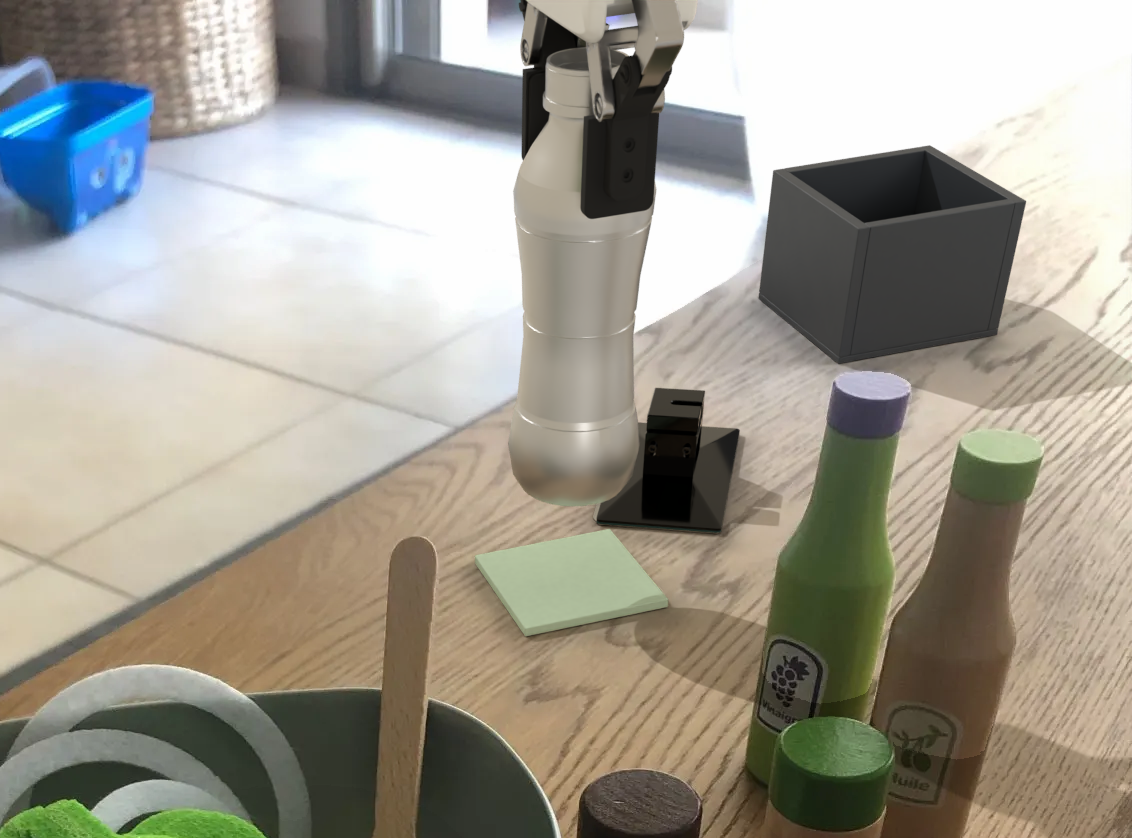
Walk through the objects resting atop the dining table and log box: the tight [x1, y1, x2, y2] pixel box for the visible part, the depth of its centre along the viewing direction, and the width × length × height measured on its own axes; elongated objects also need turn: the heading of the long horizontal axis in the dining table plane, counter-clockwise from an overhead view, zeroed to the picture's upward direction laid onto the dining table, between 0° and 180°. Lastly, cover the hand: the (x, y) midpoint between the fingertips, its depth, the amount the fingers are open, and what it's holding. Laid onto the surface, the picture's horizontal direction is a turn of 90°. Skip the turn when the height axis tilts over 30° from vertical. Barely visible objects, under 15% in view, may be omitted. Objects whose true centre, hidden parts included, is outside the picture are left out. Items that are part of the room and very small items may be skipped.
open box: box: [757, 145, 1027, 364], centre depth 108 cm, size 12×12×8 cm
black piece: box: [592, 387, 741, 535], centre depth 94 cm, size 12×7×5 cm, turn 166°
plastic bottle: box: [507, 47, 658, 507], centre depth 77 cm, size 6×7×20 cm
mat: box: [474, 528, 669, 637], centre depth 87 cm, size 8×8×1 cm
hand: (585, 182), depth 73 cm, fingers closed on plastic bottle, 6 cm apart
